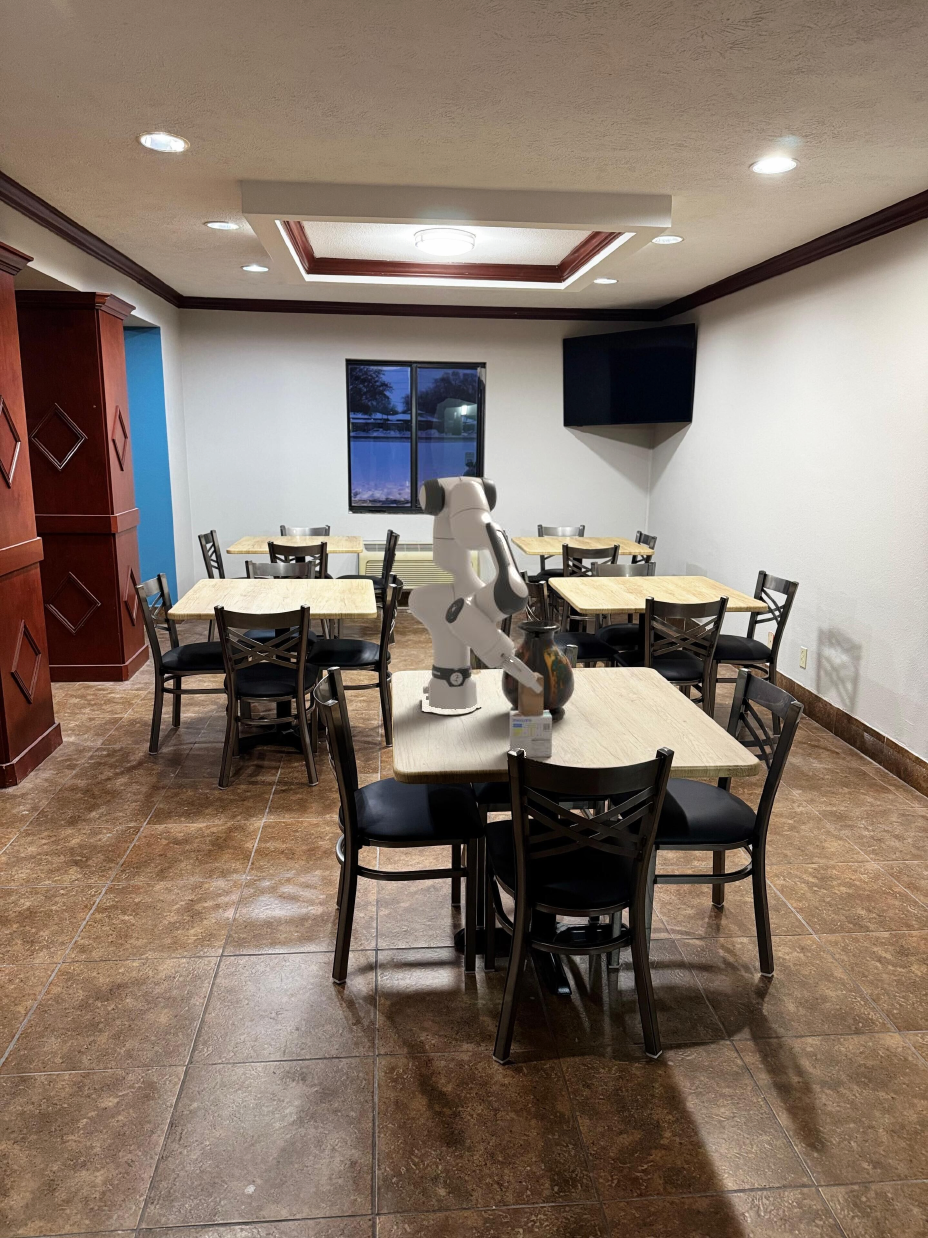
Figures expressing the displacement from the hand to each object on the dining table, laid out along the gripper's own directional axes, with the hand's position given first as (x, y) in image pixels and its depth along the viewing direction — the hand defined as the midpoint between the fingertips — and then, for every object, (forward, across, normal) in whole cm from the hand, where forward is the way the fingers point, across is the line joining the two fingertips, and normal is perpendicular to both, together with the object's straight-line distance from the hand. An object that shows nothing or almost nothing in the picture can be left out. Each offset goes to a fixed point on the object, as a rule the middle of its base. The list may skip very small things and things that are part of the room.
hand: (533, 686), depth 216 cm
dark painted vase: (+22, +31, +4) cm, 38 cm away
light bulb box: (+12, 0, +13) cm, 18 cm away
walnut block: (+5, 0, +6) cm, 7 cm away
